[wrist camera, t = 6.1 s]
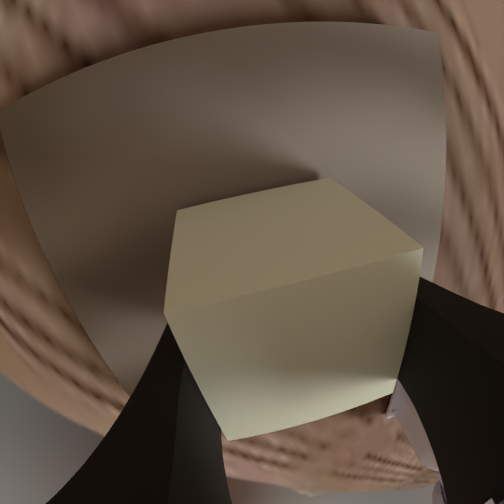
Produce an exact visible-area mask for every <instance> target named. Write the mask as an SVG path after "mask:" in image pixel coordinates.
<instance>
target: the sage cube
mask: <svg viewBox="0 0 504 504" xmlns="http://www.w3.org/2000/svg"><path fill="white" fill-rule="evenodd" d="M422 256H423V247H422V246H421V245H420V244H419V243H417V242H416V241H415V240H414V239H412V238H411V237H410V236H409V235H407V234H406V233H405V232H404V231H402V230H401V229H400V228H399V227H397V226H396V225H395V224H393V223H392V222H391V221H389V220H388V219H387V218H386V217H384V216H383V215H382V214H380V213H379V212H378V211H376V210H375V209H374V208H372V207H371V206H369V205H368V204H367V203H365V202H364V201H363V200H361V199H360V198H358V197H357V196H356V195H354V194H353V193H351V192H350V191H349V190H347V189H346V188H344V187H343V186H341V185H340V184H338V183H337V182H336V181H334V180H333V179H331V178H325V179H320V180H314V181H309V182H304V183H298V184H293V185H288V186H283V187H278V188H273V189H268V190H263V191H259V192H254V193H249V194H245V195H240V196H236V197H231V198H227V199H222V200H218V201H213V202H209V203H205V204H201V205H196V206H192V207H188V208H184V209H180V210H177V214H176V220H175V226H174V233H173V240H172V247H171V254H170V262H169V269H168V278H167V286H166V295H165V304H164V315H165V317H166V319H167V322H168V324H169V326H170V328H171V331H172V333H173V335H174V337H175V339H176V342H177V344H178V346H179V348H180V350H181V352H182V354H183V357H184V359H185V361H186V363H187V365H188V367H189V369H190V371H191V373H192V375H193V377H194V379H195V381H196V383H197V385H198V387H199V389H200V391H201V393H202V395H203V396H204V398H205V400H206V402H207V404H208V406H209V408H210V410H211V411H212V413H213V415H214V417H215V419H216V421H217V422H218V424H219V426H220V428H221V430H222V431H223V433H224V435H225V437H226V438H227V440H228V441H231V440H236V439H241V438H246V437H251V436H256V435H261V434H265V433H270V432H274V431H278V430H282V429H286V428H290V427H294V426H297V425H301V424H305V423H308V422H312V421H315V420H318V419H322V418H325V417H328V416H331V415H334V414H337V413H340V412H343V411H346V410H349V409H352V408H355V407H358V406H360V405H363V404H366V403H368V402H371V401H374V400H376V399H379V398H381V397H384V396H386V395H389V394H391V393H393V390H394V387H395V384H396V380H397V377H398V373H399V370H400V366H401V363H402V359H403V355H404V351H405V347H406V343H407V339H408V334H409V330H410V325H411V321H412V316H413V311H414V306H415V301H416V295H417V289H418V283H419V277H420V271H421V264H422Z"/></svg>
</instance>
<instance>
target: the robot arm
mask: <svg viewBox="0 0 504 504" xmlns="http://www.w3.org/2000/svg"><path fill="white" fill-rule="evenodd" d="M385 416H386V418H391V417H393V416H396V417H397V419H398V421H399V422H400V424H401V426H402V428H403V430H404V432H405V434H406V436H407V438H408V440H409V442H410V444H411V445H412V447H413V449H414V451H415V453H416V455H417V457H418V459H419V460H420V462H421V463H422V464H423V465H424V466H426V467H427V468H429V469H432V470H435V471H439V473H437V477H438V479H439V480H438V481H437V482H436V483H435V486H434V491H433V494H432V503H433V504H504V313H501V312H498V311H495V310H493V309H490V308H487V307H485V306H482V305H480V304H477V303H475V302H473V301H471V300H468V299H466V298H464V297H462V296H459V295H457V294H455V293H453V292H451V291H449V290H446V289H444V288H442V287H440V286H438V285H436V284H434V283H432V282H430V281H428V280H426V279H424V278H422V277H419V283H418V289H417V295H416V301H415V306H414V311H413V316H412V321H411V325H410V330H409V334H408V339H407V343H406V347H405V351H404V355H403V359H402V363H401V366H400V370H399V373H398V377H397V380H396V384H395V387H394V390H393V393H392V396H391V399H390V402H389V405H388V408H387V411H386V414H385ZM46 504H232V502H231V498H230V493H229V489H228V484H227V479H226V474H225V469H224V462H223V454H222V442H221V428H220V426H219V424H218V422H217V421H216V419H215V417H214V415H213V413H212V411H211V410H210V408H209V406H208V404H207V402H206V400H205V398H204V396H203V395H202V393H201V391H200V389H199V387H198V385H197V383H196V381H195V379H194V377H193V375H192V373H191V371H190V369H189V367H188V365H187V363H186V361H185V359H184V357H183V354H182V352H181V350H180V348H179V346H178V344H177V342H176V339H175V337H174V335H173V333H172V331H171V328H170V326H169V324H168V322H167V324H166V327H165V329H164V331H163V333H162V336H161V338H160V340H159V342H158V344H157V346H156V348H155V351H154V353H153V355H152V357H151V359H150V361H149V363H148V365H147V367H146V369H145V371H144V373H143V375H142V377H141V378H140V380H139V382H138V384H137V386H136V387H135V389H134V391H133V393H132V395H131V397H130V398H129V400H128V402H127V403H126V405H125V407H124V408H123V410H122V412H121V413H120V415H119V416H118V418H117V419H116V421H115V423H114V424H113V426H112V427H111V429H110V430H109V432H108V433H107V434H106V436H105V437H104V438H103V440H102V441H101V442H100V444H99V446H98V447H97V448H96V449H95V450H94V452H93V453H92V454H91V456H90V457H89V458H88V459H87V461H86V462H85V463H84V465H83V466H82V467H81V468H80V469H79V470H78V471H77V472H76V473H75V475H74V476H73V477H72V478H71V479H70V480H69V481H68V482H67V483H66V485H65V486H64V487H63V488H62V489H61V490H60V491H59V492H58V493H57V494H56V495H55V496H54V497H53V498H51V500H49V502H47V503H46Z"/></svg>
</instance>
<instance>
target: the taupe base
mask: <svg viewBox="0 0 504 504" xmlns="http://www.w3.org/2000/svg"><path fill="white" fill-rule="evenodd" d="M0 130H1V134H2V138H3V142H4V146H5V150H6V153H7V157H8V160H9V163H10V167H11V170H12V173H13V176H14V179H15V182H16V185H17V188H18V191H19V194H20V197H21V200H22V202H23V205H24V208H25V210H26V213H27V215H28V218H29V221H30V223H31V225H32V228H33V230H34V233H35V235H36V237H37V240H38V242H39V244H40V246H41V249H42V251H43V253H44V255H45V257H46V259H47V262H48V264H49V266H50V268H51V270H52V272H53V274H54V276H55V278H56V280H57V282H58V284H59V286H60V288H61V289H62V291H63V293H64V295H65V297H66V299H67V301H68V302H69V304H70V306H71V308H72V309H73V311H74V313H75V315H76V316H77V318H78V320H79V322H80V323H81V325H82V327H83V328H84V330H85V331H86V333H87V335H88V336H89V338H90V339H91V341H92V343H93V344H94V346H95V347H96V349H97V350H98V352H99V353H100V355H101V356H102V358H103V359H104V361H105V362H106V364H107V365H108V367H109V368H110V370H111V371H112V372H113V374H114V375H115V377H116V378H117V379H118V381H119V382H120V384H121V385H122V386H123V388H124V389H125V390H126V392H127V393H128V394H129V396H130V397H131V395H132V393H133V391H134V389H135V387H136V386H137V384H138V382H139V380H140V378H141V377H142V375H143V373H144V371H145V369H146V367H147V365H148V363H149V361H150V359H151V357H152V355H153V353H154V351H155V348H156V346H157V344H158V342H159V340H160V338H161V336H162V333H163V331H164V329H165V327H166V324H167V319H166V317H165V315H164V304H165V295H166V286H167V278H168V269H169V262H170V254H171V247H172V240H173V233H174V226H175V220H176V214H177V210H180V209H184V208H188V207H192V206H196V205H201V204H205V203H209V202H213V201H218V200H222V199H227V198H231V197H236V196H240V195H245V194H249V193H254V192H259V191H263V190H268V189H273V188H278V187H283V186H288V185H293V184H298V183H304V182H309V181H314V180H320V179H325V178H331V179H333V180H334V181H336V182H337V183H338V184H340V185H341V186H343V187H344V188H346V189H347V190H349V191H350V192H351V193H353V194H354V195H356V196H357V197H358V198H360V199H361V200H363V201H364V202H365V203H367V204H368V205H369V206H371V207H372V208H374V209H375V210H376V211H378V212H379V213H380V214H382V215H383V216H384V217H386V218H387V219H388V220H389V221H391V222H392V223H393V224H395V225H396V226H397V227H399V228H400V229H401V230H402V231H404V232H405V233H406V234H407V235H409V236H410V237H411V238H412V239H414V240H415V241H416V242H417V243H419V244H420V245H421V246H422V247H423V256H422V264H421V271H420V277H422V278H424V279H426V280H428V281H430V282H432V283H433V277H434V272H435V266H436V260H437V254H438V247H439V240H440V232H441V224H442V215H443V204H444V191H445V174H446V110H445V93H444V81H443V71H442V62H441V54H440V47H439V41H438V34H437V33H436V32H431V31H426V30H420V29H414V28H407V27H400V26H392V25H382V24H371V23H356V22H288V23H273V24H262V25H252V26H244V27H236V28H229V29H223V30H217V31H211V32H205V33H200V34H195V35H190V36H186V37H181V38H177V39H173V40H169V41H165V42H161V43H157V44H153V45H150V46H146V47H143V48H140V49H136V50H133V51H130V52H127V53H124V54H121V55H118V56H115V57H112V58H109V59H106V60H104V61H101V62H98V63H96V64H93V65H90V66H88V67H85V68H83V69H81V70H78V71H76V72H73V73H71V74H69V75H67V76H64V77H62V78H60V79H58V80H56V81H53V82H51V83H49V84H47V85H45V86H43V87H41V88H39V89H37V90H35V91H33V92H31V93H30V94H28V95H26V96H24V97H22V98H20V99H19V100H17V101H15V102H13V103H12V104H10V105H8V106H6V107H5V108H3V109H1V110H0Z"/></svg>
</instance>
